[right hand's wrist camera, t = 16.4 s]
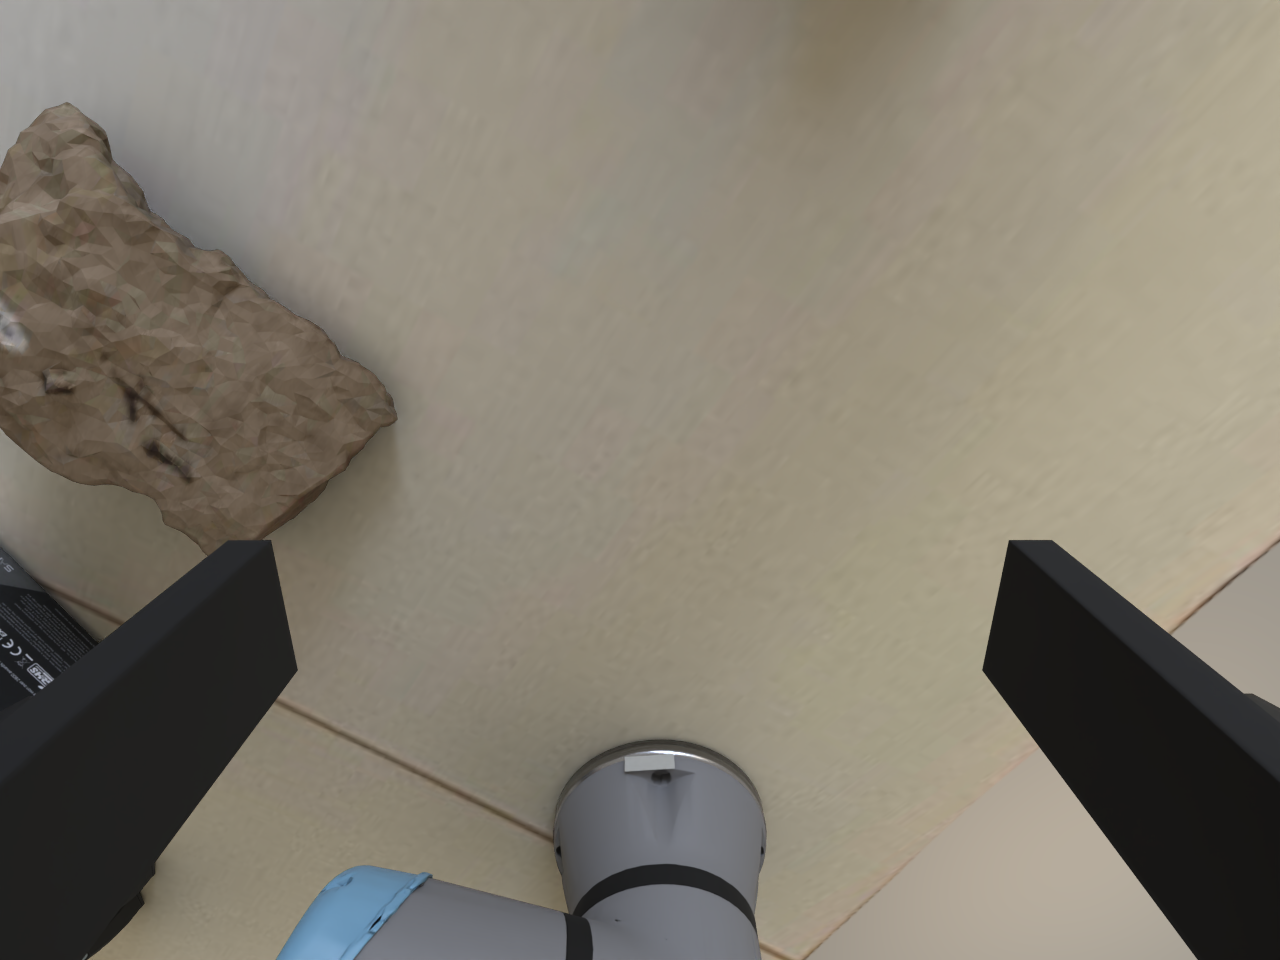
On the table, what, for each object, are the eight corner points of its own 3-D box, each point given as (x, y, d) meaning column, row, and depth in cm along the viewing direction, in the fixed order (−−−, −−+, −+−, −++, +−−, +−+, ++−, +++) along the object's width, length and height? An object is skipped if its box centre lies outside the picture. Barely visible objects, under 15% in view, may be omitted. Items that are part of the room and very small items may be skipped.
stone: (-116, 315, 36) (-214, 328, 30) (82, 101, 35) (20, 76, 30) (252, 557, 45) (228, 602, 39) (415, 388, 44) (413, 410, 39)
